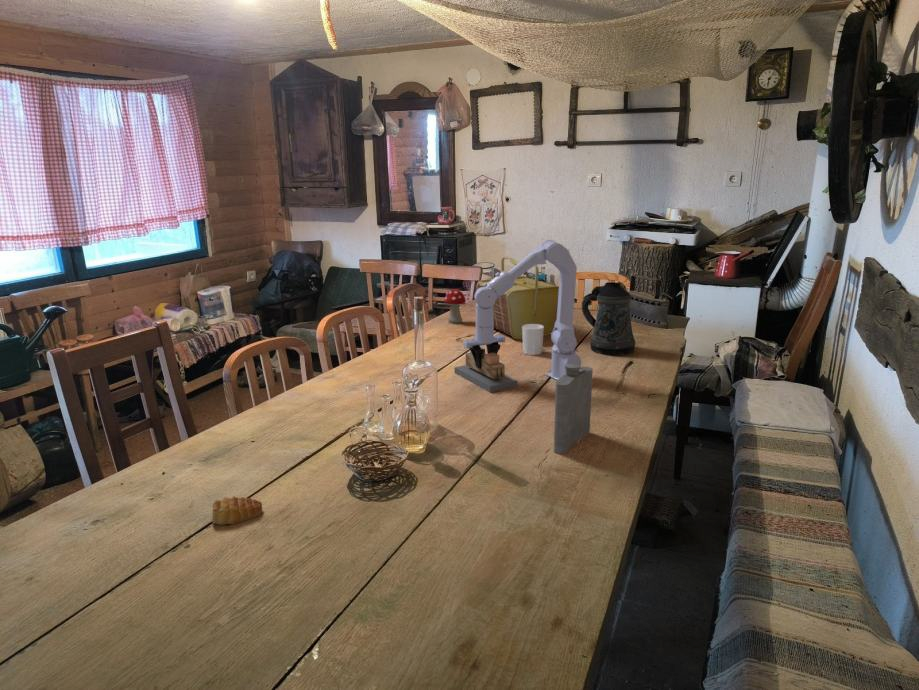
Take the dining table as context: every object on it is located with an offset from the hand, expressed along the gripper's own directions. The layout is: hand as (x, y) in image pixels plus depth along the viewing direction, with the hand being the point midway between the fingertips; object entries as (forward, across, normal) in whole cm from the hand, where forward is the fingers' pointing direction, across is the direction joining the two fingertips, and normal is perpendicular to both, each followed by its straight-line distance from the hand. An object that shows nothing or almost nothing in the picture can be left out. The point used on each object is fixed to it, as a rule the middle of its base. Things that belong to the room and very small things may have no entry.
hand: (484, 366), depth 197 cm
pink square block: (-2, 0, +4) cm, 5 cm away
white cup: (+5, -31, -16) cm, 35 cm away
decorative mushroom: (+5, -30, -72) cm, 78 cm away
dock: (+4, 0, 0) cm, 4 cm away
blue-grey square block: (-2, 0, -4) cm, 5 cm away
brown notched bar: (+2, 0, 0) cm, 2 cm away
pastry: (+5, +86, +43) cm, 96 cm away
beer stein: (+5, -57, -4) cm, 57 cm away
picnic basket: (+5, -45, -45) cm, 64 cm away
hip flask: (+5, +7, +51) cm, 52 cm away
